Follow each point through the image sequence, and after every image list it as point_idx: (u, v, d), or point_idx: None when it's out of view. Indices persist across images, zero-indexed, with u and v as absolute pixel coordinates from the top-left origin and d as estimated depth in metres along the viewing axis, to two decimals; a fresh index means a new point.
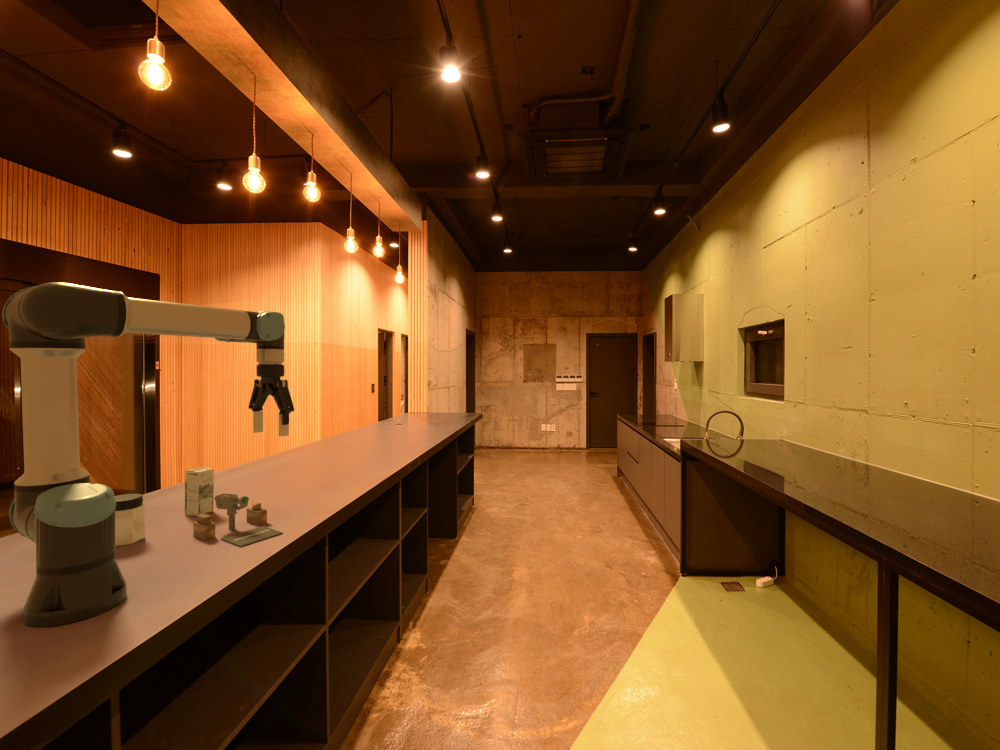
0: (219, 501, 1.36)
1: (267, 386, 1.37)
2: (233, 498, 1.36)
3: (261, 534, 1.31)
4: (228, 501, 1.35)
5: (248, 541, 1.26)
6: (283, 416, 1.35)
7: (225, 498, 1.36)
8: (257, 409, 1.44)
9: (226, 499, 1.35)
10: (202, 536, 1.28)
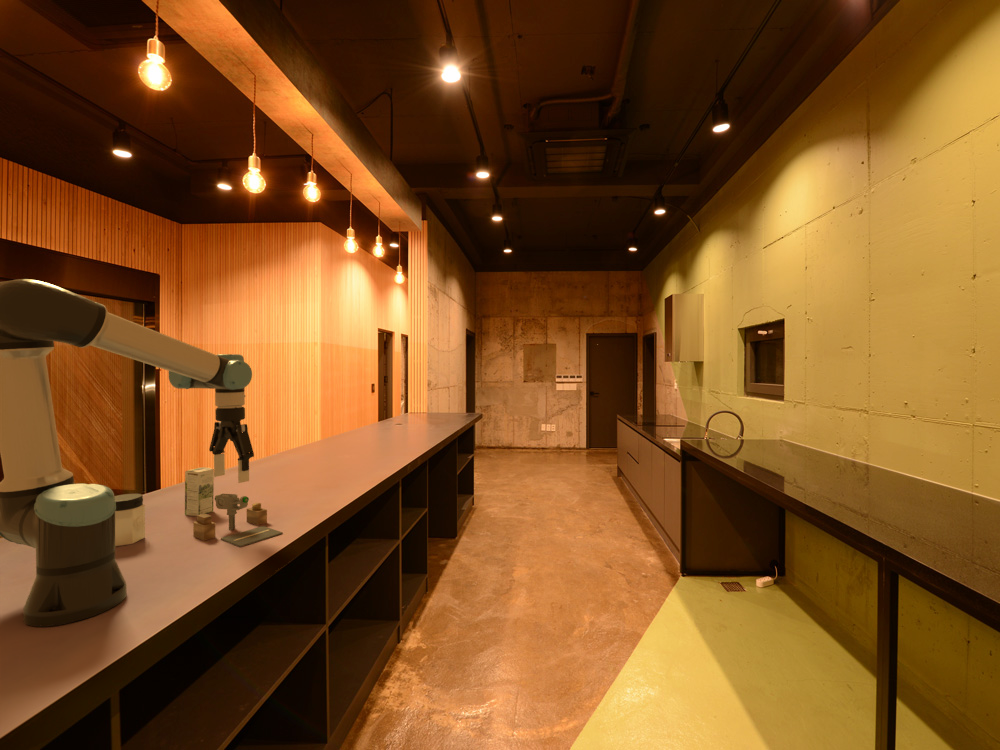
0: (219, 501, 1.36)
1: (226, 430, 1.34)
2: (233, 498, 1.36)
3: (261, 534, 1.31)
4: (228, 501, 1.35)
5: (248, 541, 1.26)
6: (242, 462, 1.32)
7: (225, 498, 1.36)
8: (218, 452, 1.40)
9: (226, 499, 1.35)
10: (202, 536, 1.28)
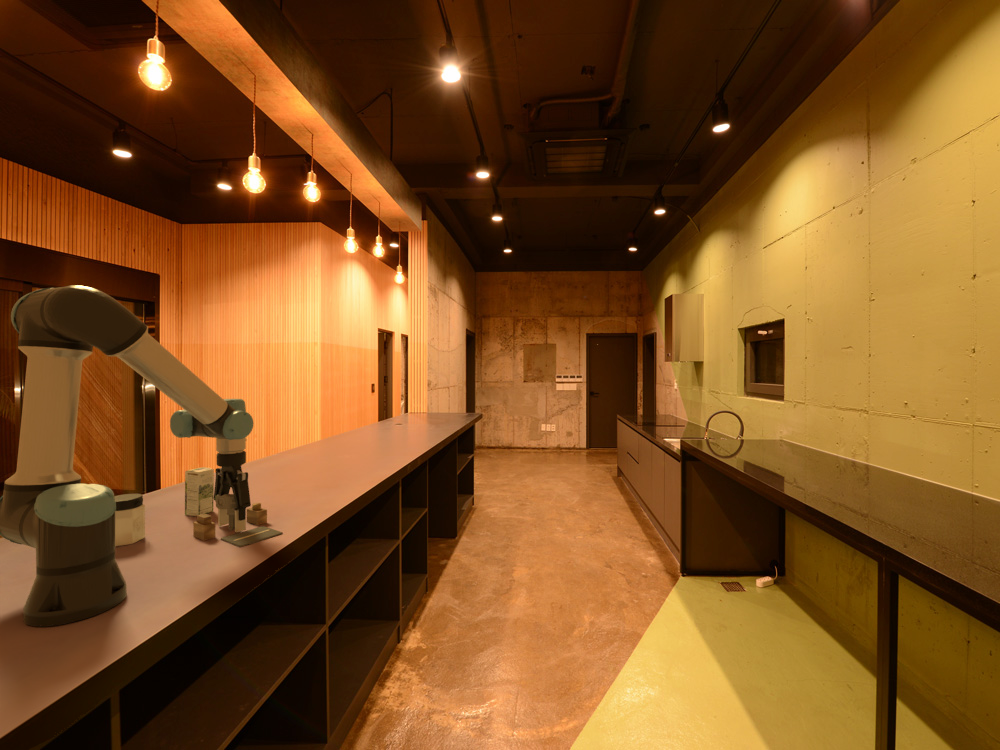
0: (219, 501, 1.36)
1: (227, 476, 1.34)
2: (233, 498, 1.36)
3: (261, 534, 1.31)
4: (228, 501, 1.35)
5: (248, 541, 1.26)
6: (239, 511, 1.33)
7: (225, 498, 1.36)
8: None
9: (226, 499, 1.36)
10: (202, 536, 1.28)
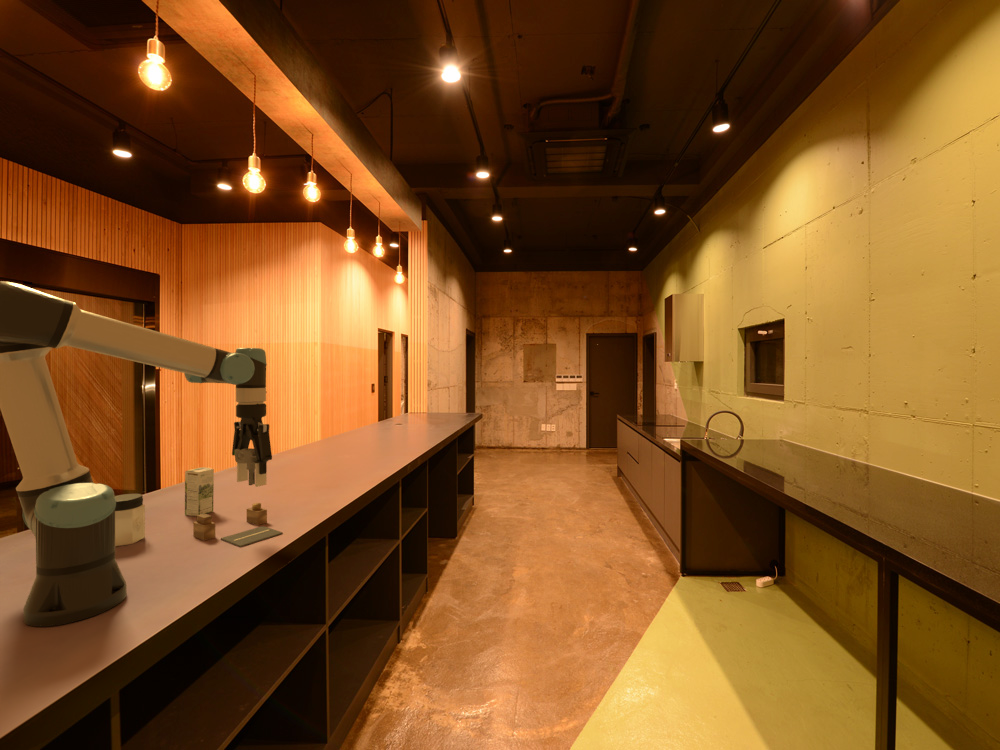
0: (238, 455, 1.30)
1: (247, 428, 1.28)
2: (253, 451, 1.30)
3: (261, 534, 1.31)
4: (248, 454, 1.29)
5: (248, 541, 1.26)
6: (260, 465, 1.27)
7: (245, 452, 1.30)
8: None
9: (246, 452, 1.29)
10: (202, 536, 1.28)
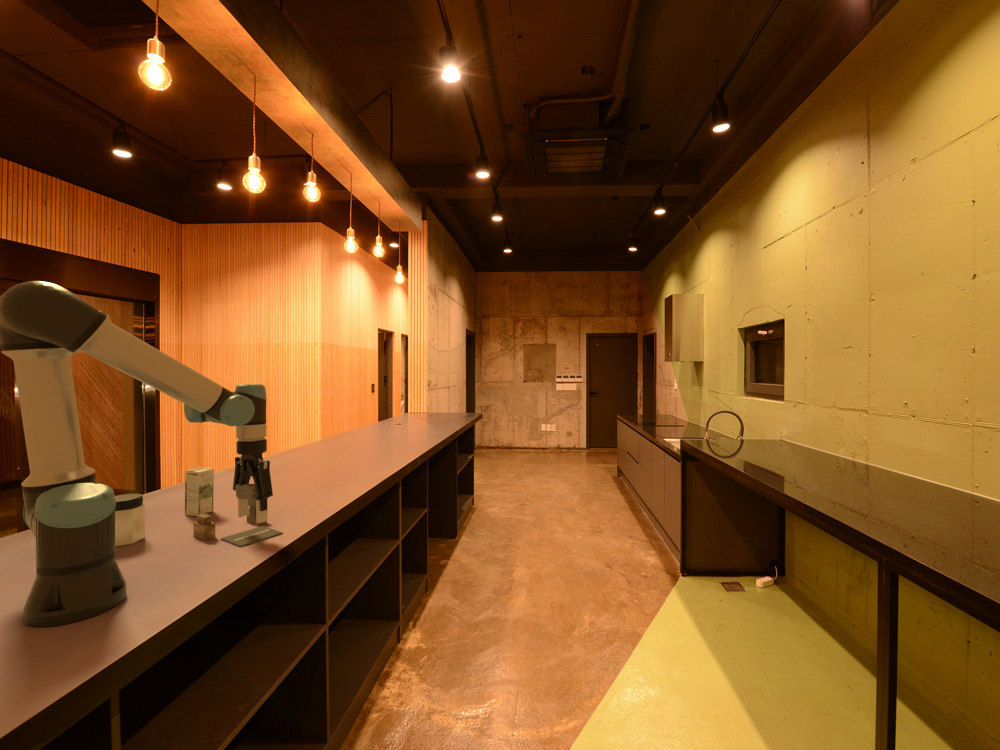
0: (239, 491, 1.30)
1: (248, 465, 1.28)
2: (254, 487, 1.30)
3: (261, 534, 1.31)
4: (249, 491, 1.29)
5: (248, 541, 1.26)
6: (261, 501, 1.27)
7: (246, 488, 1.30)
8: None
9: (247, 489, 1.30)
10: (202, 536, 1.28)
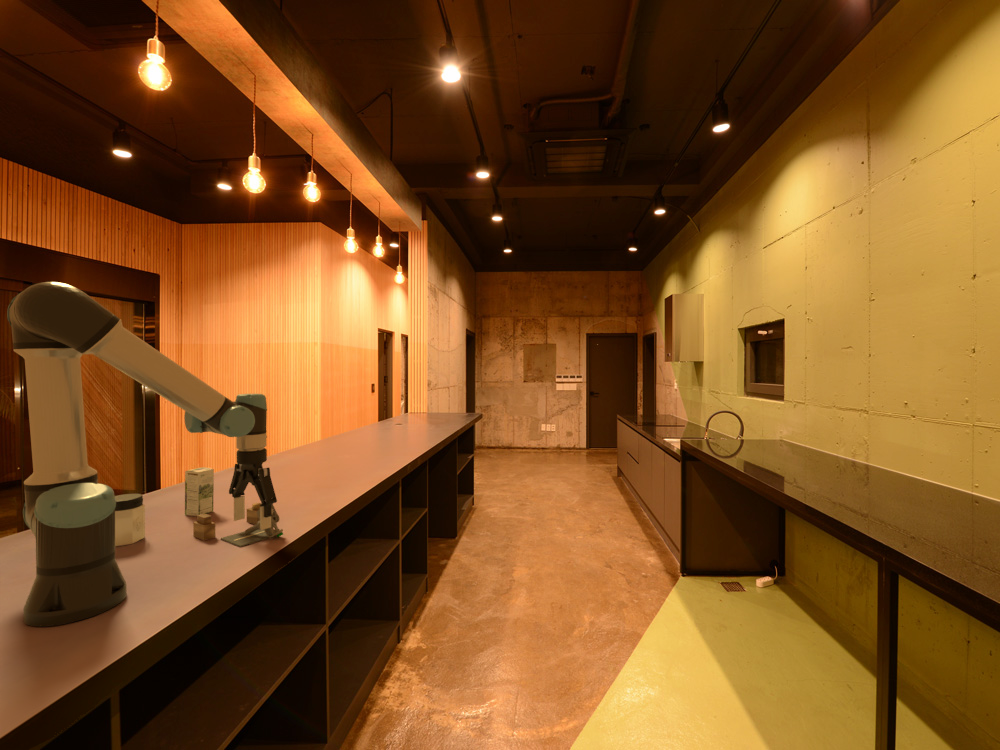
0: None
1: (248, 474, 1.28)
2: (273, 523, 1.29)
3: (261, 534, 1.31)
4: None
5: (248, 541, 1.26)
6: (265, 508, 1.26)
7: None
8: (238, 495, 1.35)
9: None
10: (202, 536, 1.28)
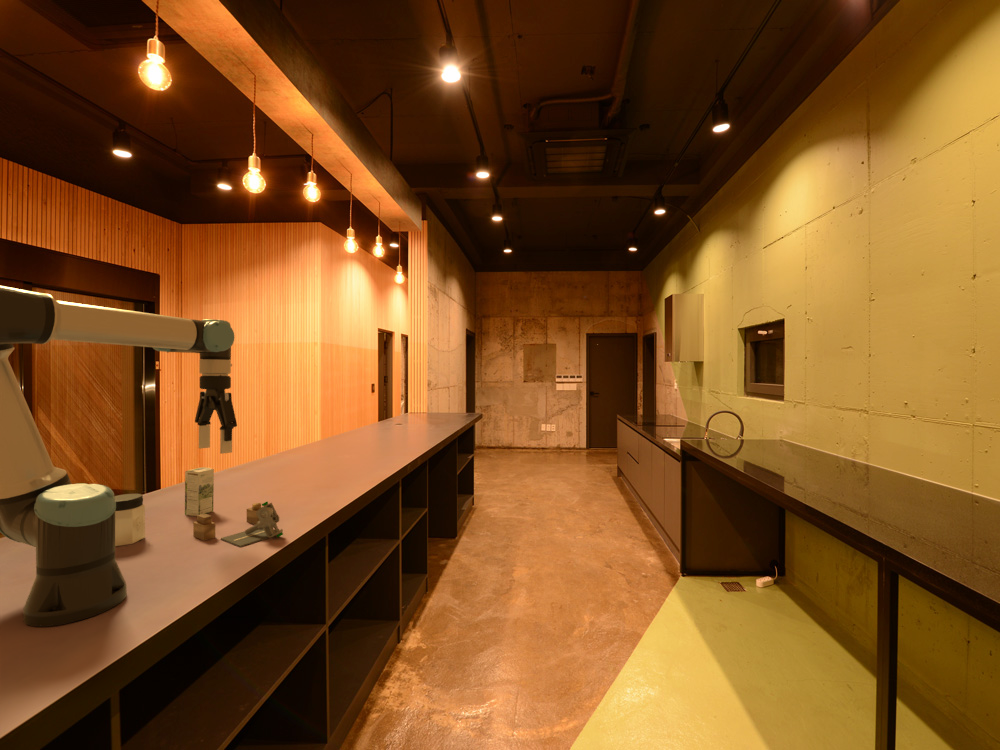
0: (263, 511, 1.29)
1: (210, 399, 1.28)
2: (273, 523, 1.29)
3: (261, 534, 1.31)
4: (268, 522, 1.29)
5: (248, 541, 1.26)
6: (225, 432, 1.26)
7: (269, 517, 1.29)
8: (203, 423, 1.35)
9: (268, 519, 1.29)
10: (202, 536, 1.28)
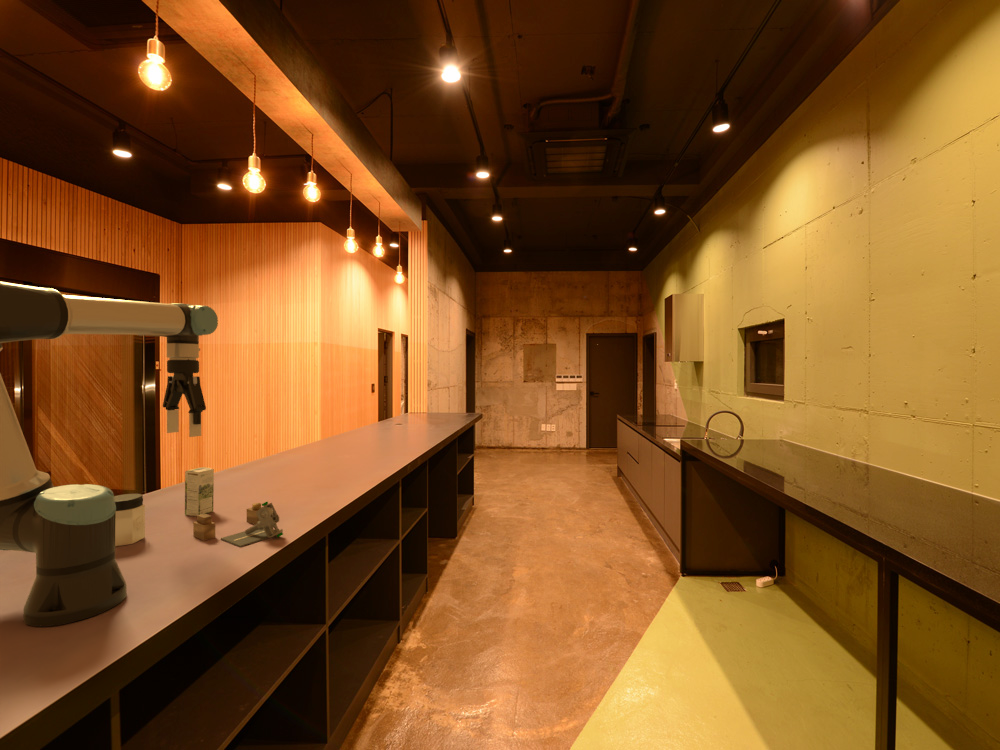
0: (263, 511, 1.29)
1: (178, 383, 1.29)
2: (273, 523, 1.29)
3: (261, 534, 1.31)
4: (268, 522, 1.29)
5: (248, 541, 1.26)
6: (194, 415, 1.26)
7: (269, 517, 1.29)
8: (171, 408, 1.35)
9: (268, 519, 1.29)
10: (202, 536, 1.28)
